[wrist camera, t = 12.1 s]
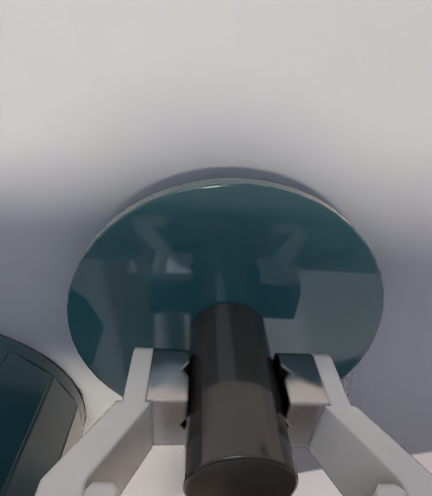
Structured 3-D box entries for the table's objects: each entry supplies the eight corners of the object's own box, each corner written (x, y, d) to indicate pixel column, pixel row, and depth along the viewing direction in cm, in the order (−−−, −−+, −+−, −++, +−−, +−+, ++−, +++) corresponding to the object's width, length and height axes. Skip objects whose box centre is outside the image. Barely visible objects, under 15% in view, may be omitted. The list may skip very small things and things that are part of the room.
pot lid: (56, 155, 9) (-106, 289, 4) (416, 182, 10) (620, 322, 5) (92, 394, 14) (36, 579, 9) (327, 400, 15) (387, 573, 10)
